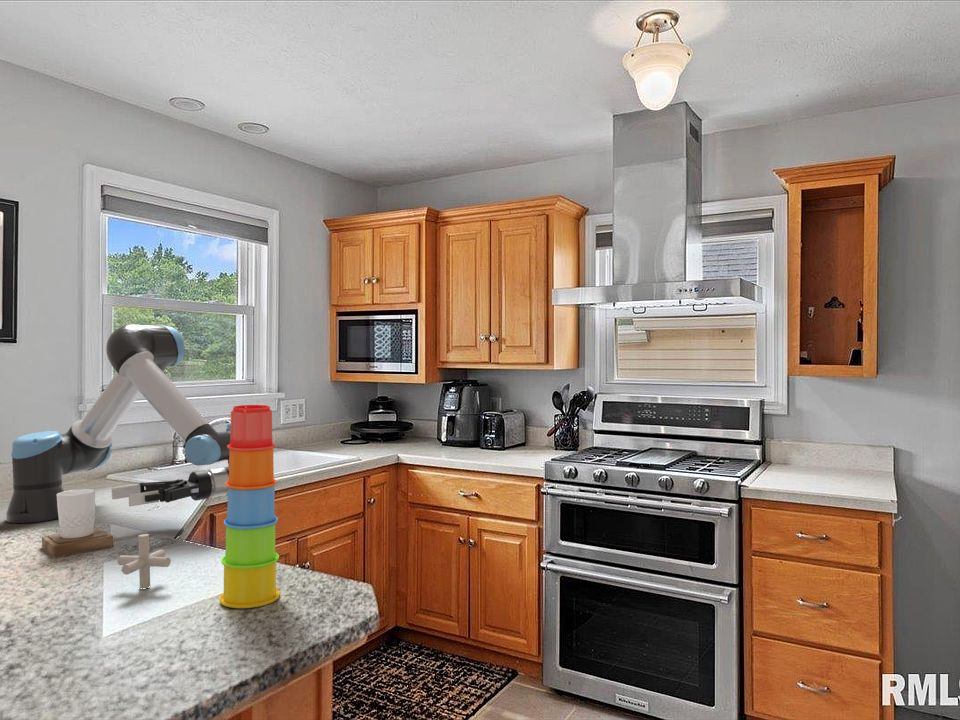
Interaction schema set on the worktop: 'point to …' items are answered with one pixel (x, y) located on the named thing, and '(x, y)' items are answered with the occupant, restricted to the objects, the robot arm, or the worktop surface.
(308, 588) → the worktop surface
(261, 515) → the stacking cups
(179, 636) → the worktop surface
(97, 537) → the walnut board
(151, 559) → the beige jack
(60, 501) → the white cup
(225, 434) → the robot arm
